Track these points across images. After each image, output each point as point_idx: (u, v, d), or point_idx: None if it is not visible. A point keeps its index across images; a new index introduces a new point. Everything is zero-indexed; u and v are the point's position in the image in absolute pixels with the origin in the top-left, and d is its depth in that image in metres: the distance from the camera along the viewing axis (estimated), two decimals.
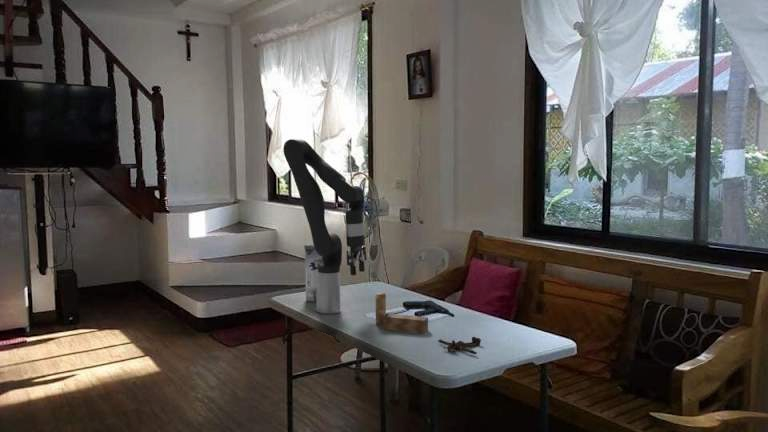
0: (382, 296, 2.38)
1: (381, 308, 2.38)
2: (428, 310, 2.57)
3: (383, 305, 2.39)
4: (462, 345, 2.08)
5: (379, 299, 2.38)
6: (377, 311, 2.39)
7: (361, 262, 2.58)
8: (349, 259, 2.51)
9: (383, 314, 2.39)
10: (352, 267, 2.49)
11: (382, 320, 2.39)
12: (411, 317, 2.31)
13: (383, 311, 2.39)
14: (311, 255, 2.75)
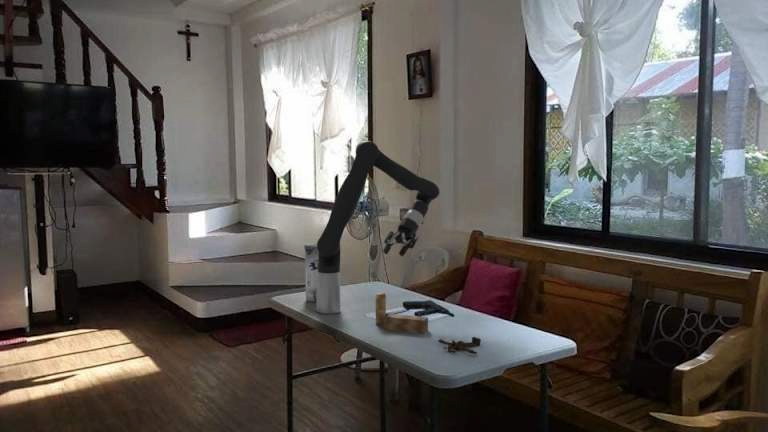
0: (382, 296, 2.38)
1: (381, 308, 2.38)
2: (428, 310, 2.57)
3: (383, 305, 2.39)
4: (462, 345, 2.08)
5: (379, 299, 2.38)
6: (377, 311, 2.39)
7: (389, 245, 2.50)
8: (405, 240, 2.45)
9: (383, 314, 2.39)
10: (406, 249, 2.44)
11: (382, 320, 2.39)
12: (411, 317, 2.31)
13: (383, 311, 2.39)
14: (311, 255, 2.75)
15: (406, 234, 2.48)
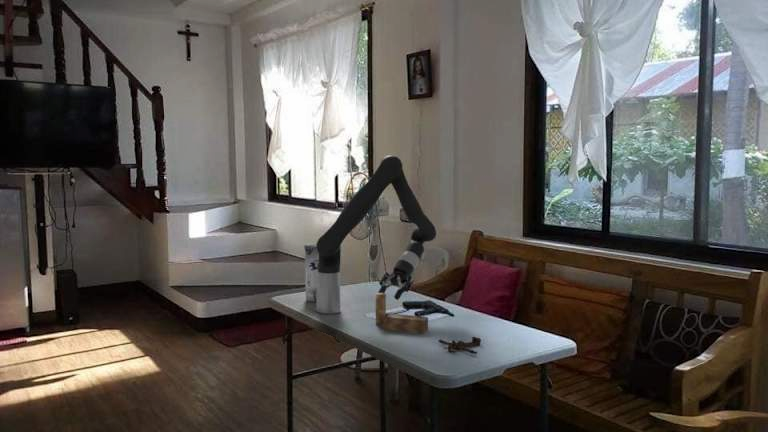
0: (382, 296, 2.38)
1: (381, 308, 2.38)
2: (428, 310, 2.58)
3: (383, 305, 2.39)
4: (462, 345, 2.08)
5: (379, 299, 2.38)
6: (377, 311, 2.39)
7: (385, 287, 2.48)
8: (401, 283, 2.42)
9: (383, 314, 2.39)
10: (401, 292, 2.41)
11: (382, 320, 2.39)
12: (411, 317, 2.31)
13: (383, 311, 2.39)
14: (311, 255, 2.75)
15: (401, 277, 2.45)
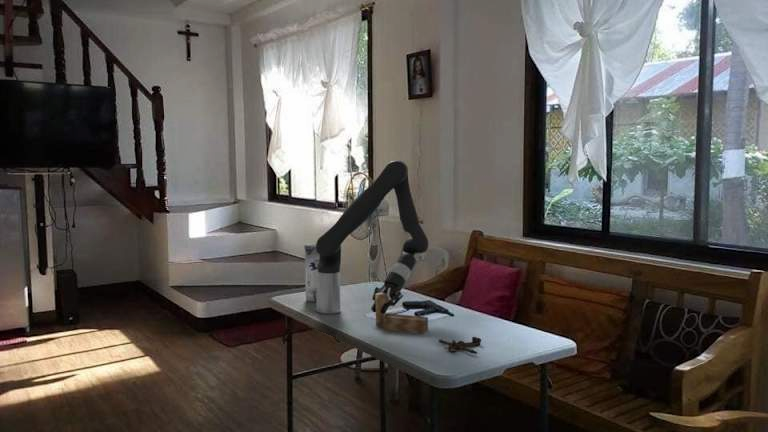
0: (382, 296, 2.38)
1: None
2: (428, 310, 2.58)
3: None
4: (462, 345, 2.08)
5: (379, 299, 2.38)
6: (377, 311, 2.39)
7: None
8: (388, 297, 2.39)
9: (383, 314, 2.39)
10: (387, 306, 2.38)
11: (382, 320, 2.39)
12: (411, 317, 2.31)
13: None
14: (311, 255, 2.75)
15: (392, 290, 2.41)
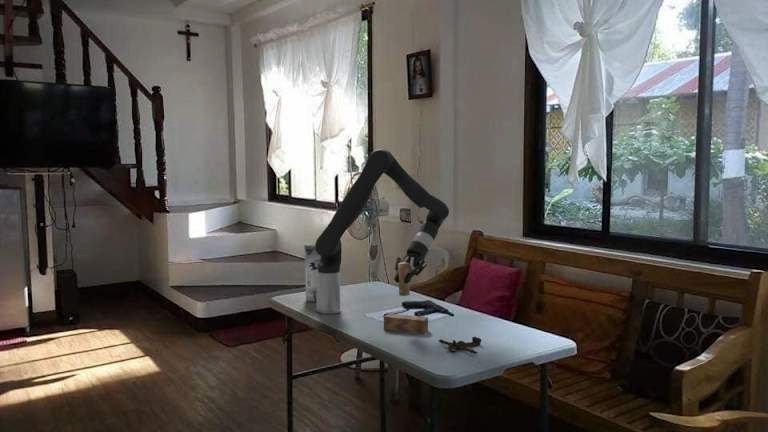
0: (405, 265, 2.30)
1: None
2: (428, 310, 2.58)
3: None
4: (463, 345, 2.08)
5: (403, 268, 2.30)
6: (401, 281, 2.30)
7: None
8: (412, 266, 2.31)
9: (407, 284, 2.31)
10: (411, 276, 2.30)
11: (406, 290, 2.31)
12: (411, 317, 2.31)
13: None
14: (311, 255, 2.75)
15: (415, 259, 2.33)
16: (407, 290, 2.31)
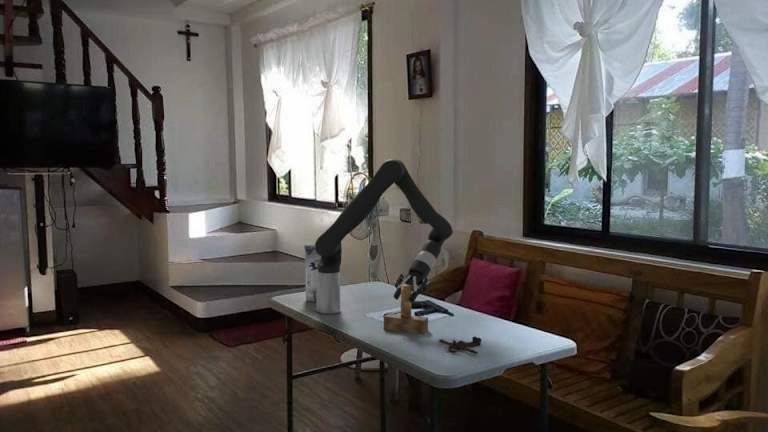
0: (408, 288, 2.29)
1: (407, 300, 2.30)
2: (427, 310, 2.58)
3: (409, 297, 2.30)
4: (463, 345, 2.08)
5: (405, 290, 2.29)
6: (403, 303, 2.30)
7: None
8: (416, 285, 2.30)
9: (409, 306, 2.30)
10: (416, 295, 2.29)
11: (407, 312, 2.30)
12: (411, 317, 2.31)
13: (409, 303, 2.30)
14: (311, 255, 2.75)
15: (418, 278, 2.32)
16: (409, 312, 2.31)
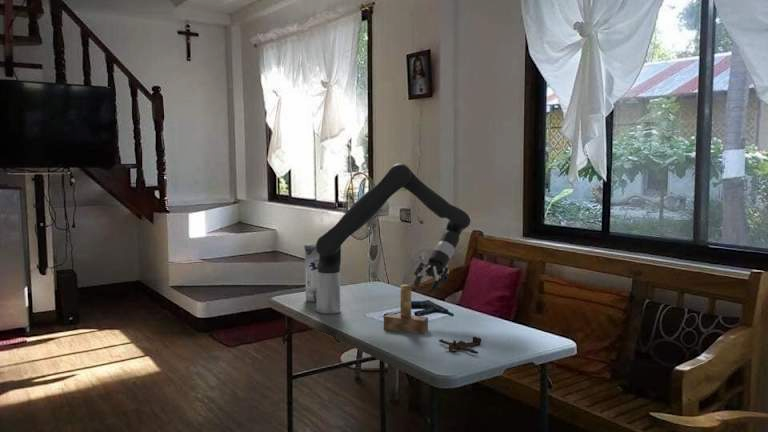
0: (407, 288, 2.29)
1: (406, 301, 2.30)
2: (427, 310, 2.58)
3: (408, 297, 2.30)
4: (463, 345, 2.08)
5: (405, 290, 2.29)
6: (402, 304, 2.30)
7: (420, 278, 2.45)
8: (437, 274, 2.40)
9: (408, 306, 2.30)
10: (438, 284, 2.39)
11: (407, 313, 2.30)
12: (411, 317, 2.31)
13: (408, 303, 2.30)
14: (311, 255, 2.75)
15: (438, 268, 2.42)
16: (409, 312, 2.31)
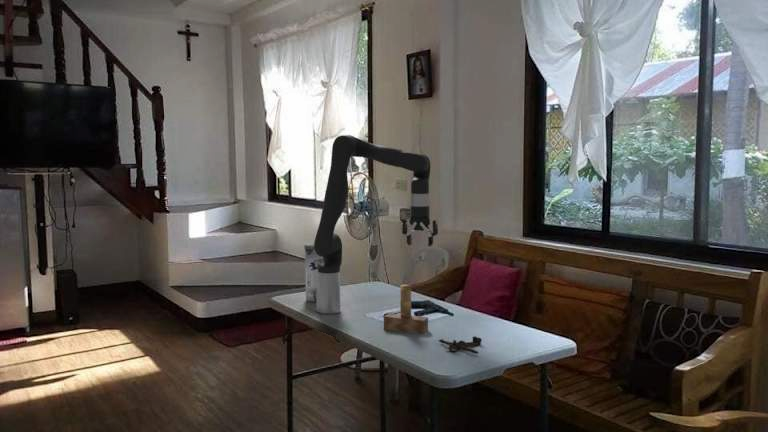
0: (407, 288, 2.29)
1: (406, 301, 2.30)
2: (427, 310, 2.58)
3: (408, 297, 2.30)
4: (463, 345, 2.08)
5: (405, 290, 2.29)
6: (402, 304, 2.30)
7: (410, 235, 2.46)
8: (428, 230, 2.41)
9: (408, 306, 2.30)
10: (432, 237, 2.42)
11: (407, 313, 2.30)
12: (411, 317, 2.31)
13: (408, 303, 2.30)
14: (311, 255, 2.75)
15: (424, 222, 2.42)
16: (409, 312, 2.31)
